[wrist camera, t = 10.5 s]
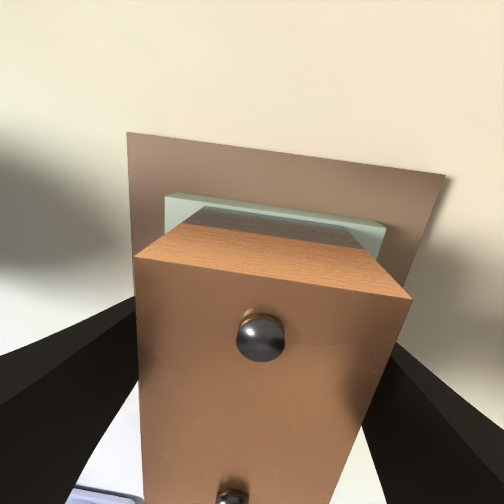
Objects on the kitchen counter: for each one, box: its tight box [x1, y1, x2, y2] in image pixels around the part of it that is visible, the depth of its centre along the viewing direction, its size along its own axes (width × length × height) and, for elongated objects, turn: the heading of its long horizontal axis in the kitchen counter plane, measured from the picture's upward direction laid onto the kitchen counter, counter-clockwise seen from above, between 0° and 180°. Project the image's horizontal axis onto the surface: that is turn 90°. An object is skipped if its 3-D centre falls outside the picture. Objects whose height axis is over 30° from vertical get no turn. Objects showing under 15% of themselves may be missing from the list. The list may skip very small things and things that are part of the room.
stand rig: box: [126, 132, 446, 494], centre depth 14 cm, size 24×12×2 cm, turn 173°
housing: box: [134, 206, 413, 504], centre depth 8 cm, size 5×8×5 cm, turn 173°
